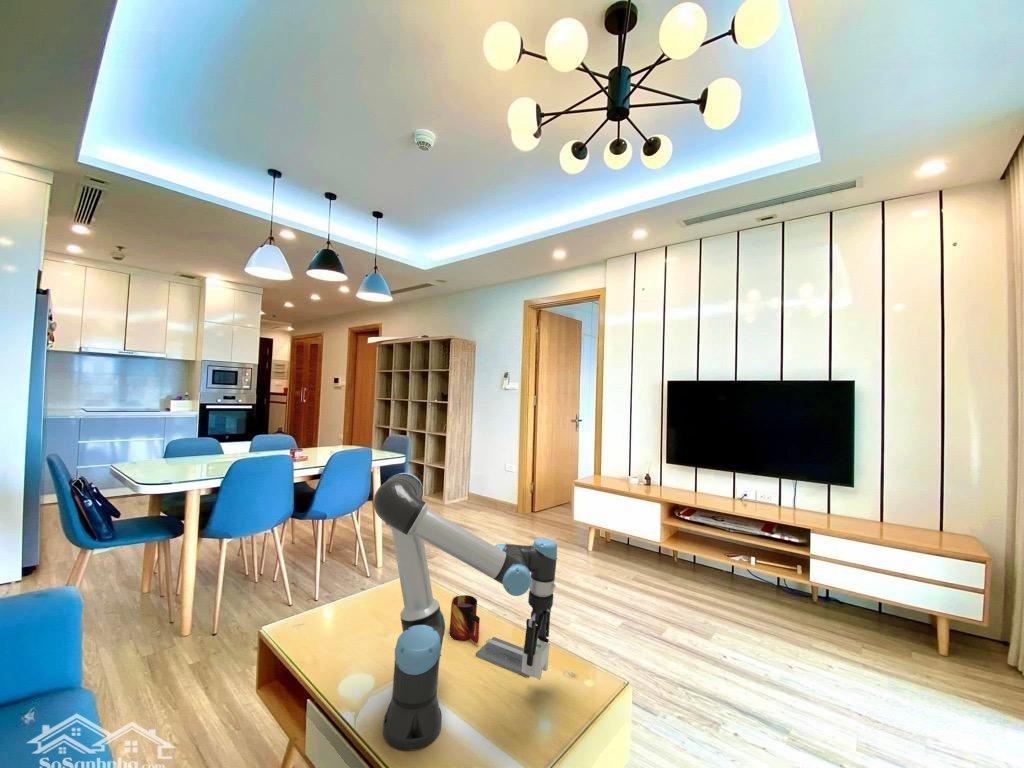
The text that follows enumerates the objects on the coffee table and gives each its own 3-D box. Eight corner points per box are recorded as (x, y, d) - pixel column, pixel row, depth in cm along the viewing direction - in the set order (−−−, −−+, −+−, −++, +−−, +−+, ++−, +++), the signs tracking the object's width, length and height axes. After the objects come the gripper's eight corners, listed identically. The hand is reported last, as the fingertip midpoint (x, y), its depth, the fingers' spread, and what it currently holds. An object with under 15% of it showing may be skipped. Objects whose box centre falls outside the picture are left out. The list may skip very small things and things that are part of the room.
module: (539, 679, 121) (541, 653, 121) (521, 671, 124) (523, 645, 124) (547, 669, 126) (549, 643, 126) (530, 661, 129) (532, 637, 129)
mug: (476, 647, 146) (479, 613, 146) (444, 636, 152) (446, 603, 152) (489, 634, 155) (491, 601, 155) (458, 624, 160) (460, 592, 161)
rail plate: (527, 677, 131) (528, 668, 131) (475, 656, 141) (476, 647, 141) (542, 658, 142) (543, 649, 142) (493, 639, 151) (493, 631, 151)
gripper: (539, 607, 116) (532, 692, 115) (563, 584, 133) (557, 658, 131) (516, 599, 119) (508, 681, 118) (542, 578, 136) (536, 649, 135)
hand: (534, 668), depth 125 cm, fingers closed on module, 6 cm apart
